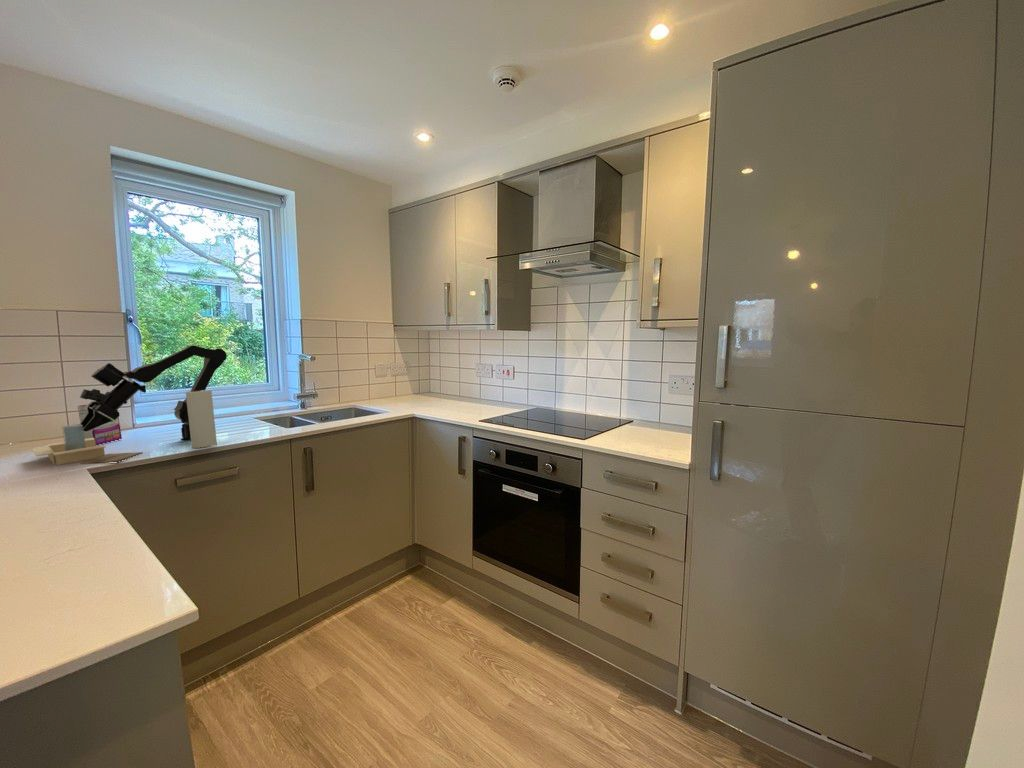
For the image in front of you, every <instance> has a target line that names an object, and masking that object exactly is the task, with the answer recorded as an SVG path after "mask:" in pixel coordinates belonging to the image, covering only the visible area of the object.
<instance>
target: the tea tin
mask: <svg viewBox="0 0 1024 768" xmlns="http://www.w3.org/2000/svg"><path fill="white" fill-rule="evenodd" d="M61 427H62V428H61V430H62V435H63V437H62V438H63V442H64V444H65V451H68V450H74V449H81V448H86V446H85V438H84V431H83V425H81V423H80V424H70V425H62V426H61Z"/></svg>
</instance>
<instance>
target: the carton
mask: <svg viewBox="0 0 1024 768" xmlns="http://www.w3.org/2000/svg"><path fill="white" fill-rule="evenodd" d="M85 446H86V448H81V449H74V450H68V451H65V444H64V441H61V442H60V441H59V442H54V443H49V444H45V445H44V446H38V447H32V448H31V451H32V452H33V453H34V455H35V456H36V457H43V456H47V457H48V459H49V460H50V461H51V463H52V464H53V466H58V465H64V464H70V463H75V462H81V461H82V462H83V461H88V460H91V459H93V458H97V457H100V456H104V455H106V454H105V448H106V445H105V444H101V445H97V446H96V443H95V439H94V438H88V439H85Z"/></svg>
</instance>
